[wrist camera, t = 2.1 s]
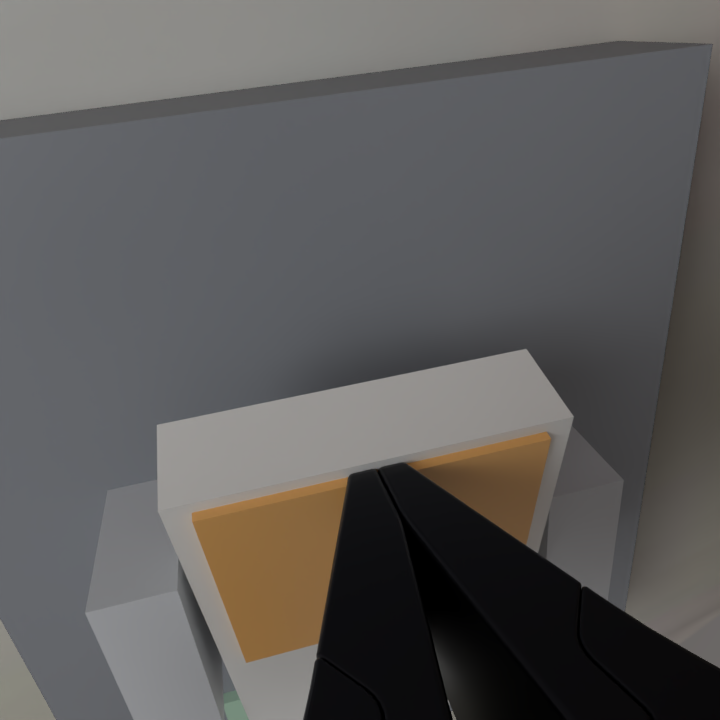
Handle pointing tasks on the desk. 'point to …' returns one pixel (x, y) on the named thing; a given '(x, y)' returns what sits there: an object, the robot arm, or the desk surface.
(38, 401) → the box
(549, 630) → the robot arm
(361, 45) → the desk surface
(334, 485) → the block
